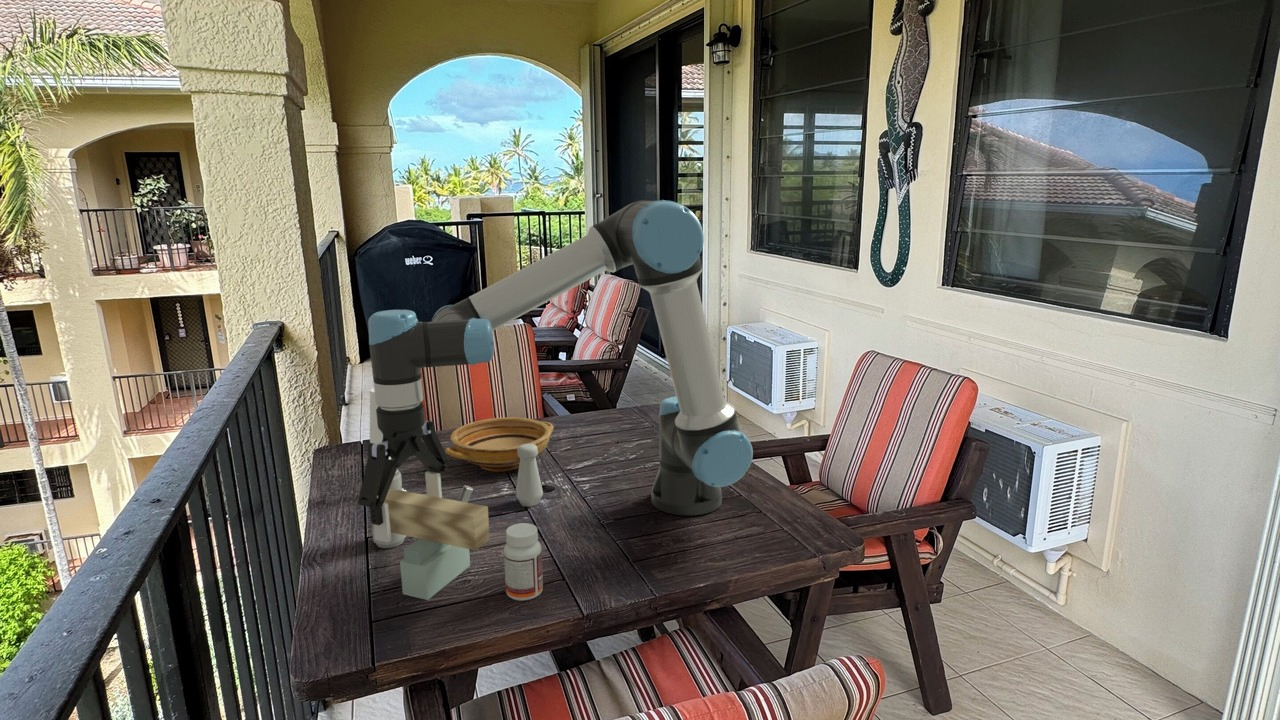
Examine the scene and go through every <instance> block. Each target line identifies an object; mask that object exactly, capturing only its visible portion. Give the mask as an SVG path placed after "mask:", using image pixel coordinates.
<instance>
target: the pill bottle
mask: <svg viewBox="0 0 1280 720" xmlns="http://www.w3.org/2000/svg"><path fill="white" fill-rule="evenodd" d="M538 535H539V533H538V527H537V526H536V525H535V524H532V523H528V522H521V523H516V524H513V525H510V526H508V527H507V529H506V530H505V541H506V543H505V546H504V547H503V560H504V561H503V562H504V563H503V564H504V578H505V579H504V581H505V593H506V594H507V595H506V596H508V597H509V598H510V599H512V600H514V601H530V600H533V599H535V598H537V597H538V596H540V595H541V593H542V592H543V587H544V581H543V580H544V578H543V556H542V550H543V549H542V546H541V543H540V541H539V539H538V538H539V536H538Z"/></svg>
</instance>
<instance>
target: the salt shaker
mask: <svg viewBox="0 0 1280 720" xmlns="http://www.w3.org/2000/svg"><path fill="white" fill-rule="evenodd" d="M517 453H518V457H520V464H519V468H518V471H517V472H518V473H517V480H516V485H515V487H516V488H515V496H516V498H517V500H518V502H519V504H520V505H521V506H522V507H529V508H532V507H535V506H537V505H539V503H540V500H541V499H542V497H543V496H544V490H543V487H542V483H541V482H542V481H541V477H540V473H539V467H538V463H537V459H536V458H537V457H538V456H539V455H538V449H537V446H536V445H534V444H523V445H520V446H519V447H518V449H517ZM537 455H538V456H537ZM536 456H537V457H536ZM535 457H536V458H535Z"/></svg>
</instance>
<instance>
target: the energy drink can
mask: <svg viewBox="0 0 1280 720" xmlns="http://www.w3.org/2000/svg"><path fill="white" fill-rule="evenodd" d="M402 480H403V479H402V473H401V472H400V471H399V470H398V468H397V470H396V473H395V475H394V478H393V480H392V483H391V486H390V488H389V489H396V490H401V491H402V488H403V484H402V483H403V481H402ZM370 523H371V522H370ZM371 532H372V534H371V535H372V541H373V543H374V544H376V546H377V547H378V548H382V549H391V548H395V547H398V546H400V545H402V544H403V542H404V540H405V539H406V537H407V536H405V535H400V534H395V533H391V541H390V542H383V541H378V540H375V534H374V525H373V524H372V523H371Z"/></svg>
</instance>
